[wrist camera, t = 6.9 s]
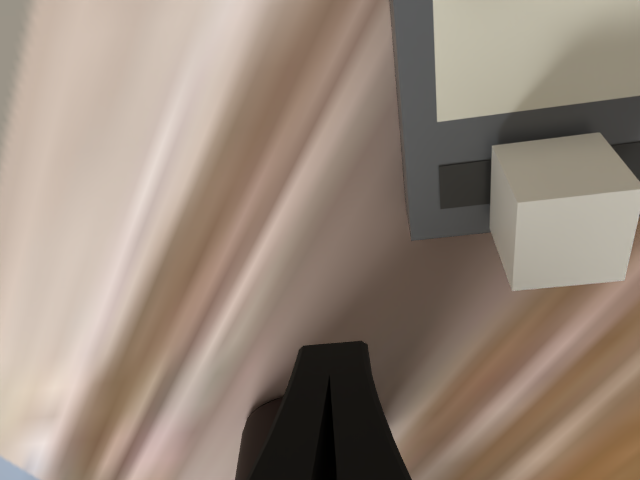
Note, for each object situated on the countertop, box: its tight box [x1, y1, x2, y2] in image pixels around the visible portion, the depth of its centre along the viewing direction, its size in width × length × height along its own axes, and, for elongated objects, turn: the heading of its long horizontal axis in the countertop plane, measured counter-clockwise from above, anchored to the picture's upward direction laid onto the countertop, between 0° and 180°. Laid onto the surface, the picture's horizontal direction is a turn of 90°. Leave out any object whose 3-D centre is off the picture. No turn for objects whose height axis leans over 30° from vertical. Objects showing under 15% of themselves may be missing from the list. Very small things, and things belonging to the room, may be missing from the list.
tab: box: [489, 132, 640, 291], centre depth 16 cm, size 3×3×3 cm
